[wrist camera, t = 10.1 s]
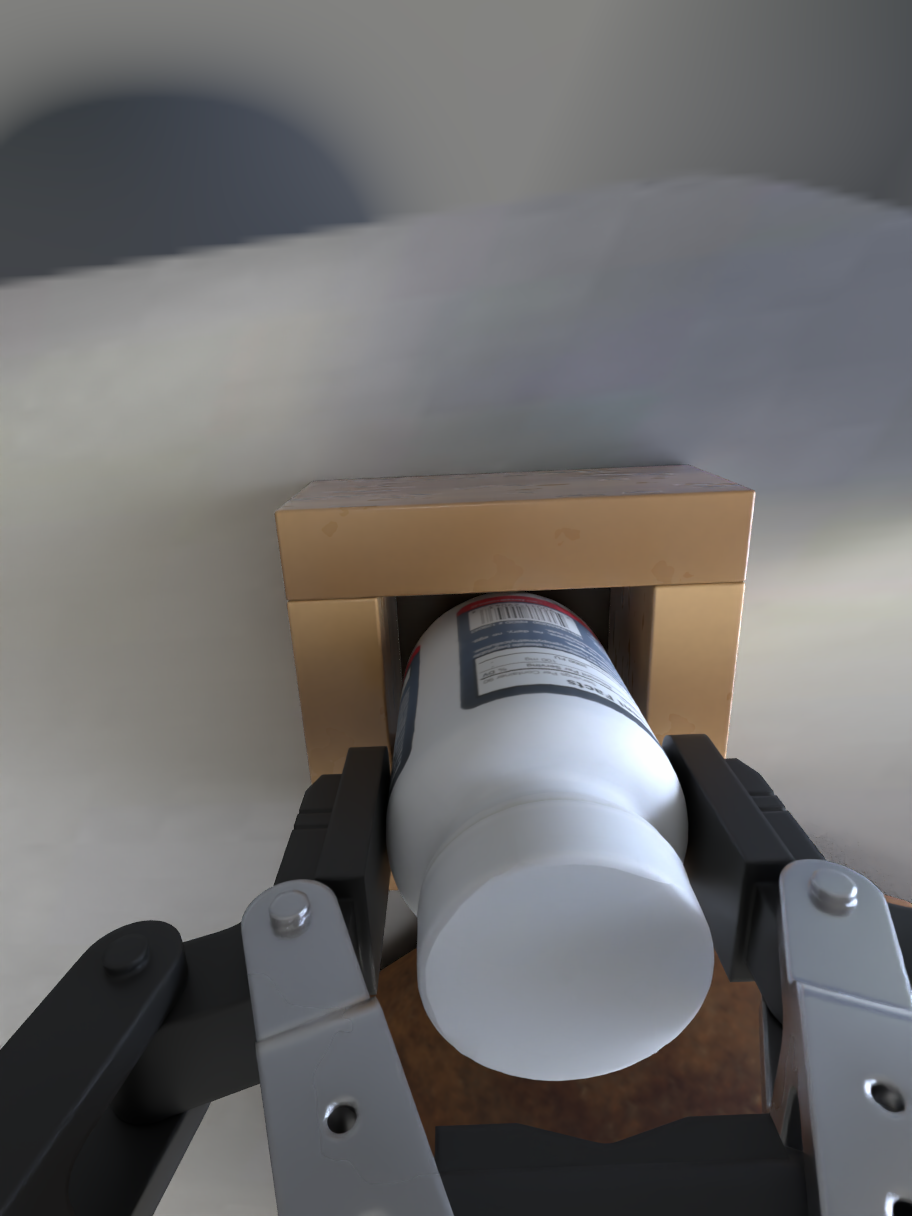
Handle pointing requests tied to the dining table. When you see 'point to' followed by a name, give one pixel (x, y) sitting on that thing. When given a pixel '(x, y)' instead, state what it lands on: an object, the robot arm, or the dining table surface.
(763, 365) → the dining table surface
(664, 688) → the holder
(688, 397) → the dining table surface
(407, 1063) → the bread
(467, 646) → the pill bottle
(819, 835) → the dining table surface
